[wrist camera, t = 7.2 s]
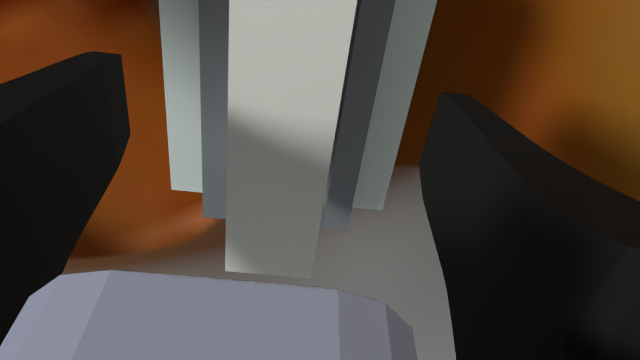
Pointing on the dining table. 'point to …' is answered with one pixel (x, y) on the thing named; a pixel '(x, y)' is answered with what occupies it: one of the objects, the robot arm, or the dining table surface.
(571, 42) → the dining table surface
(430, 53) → the dining table surface
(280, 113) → the door panel
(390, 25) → the track
